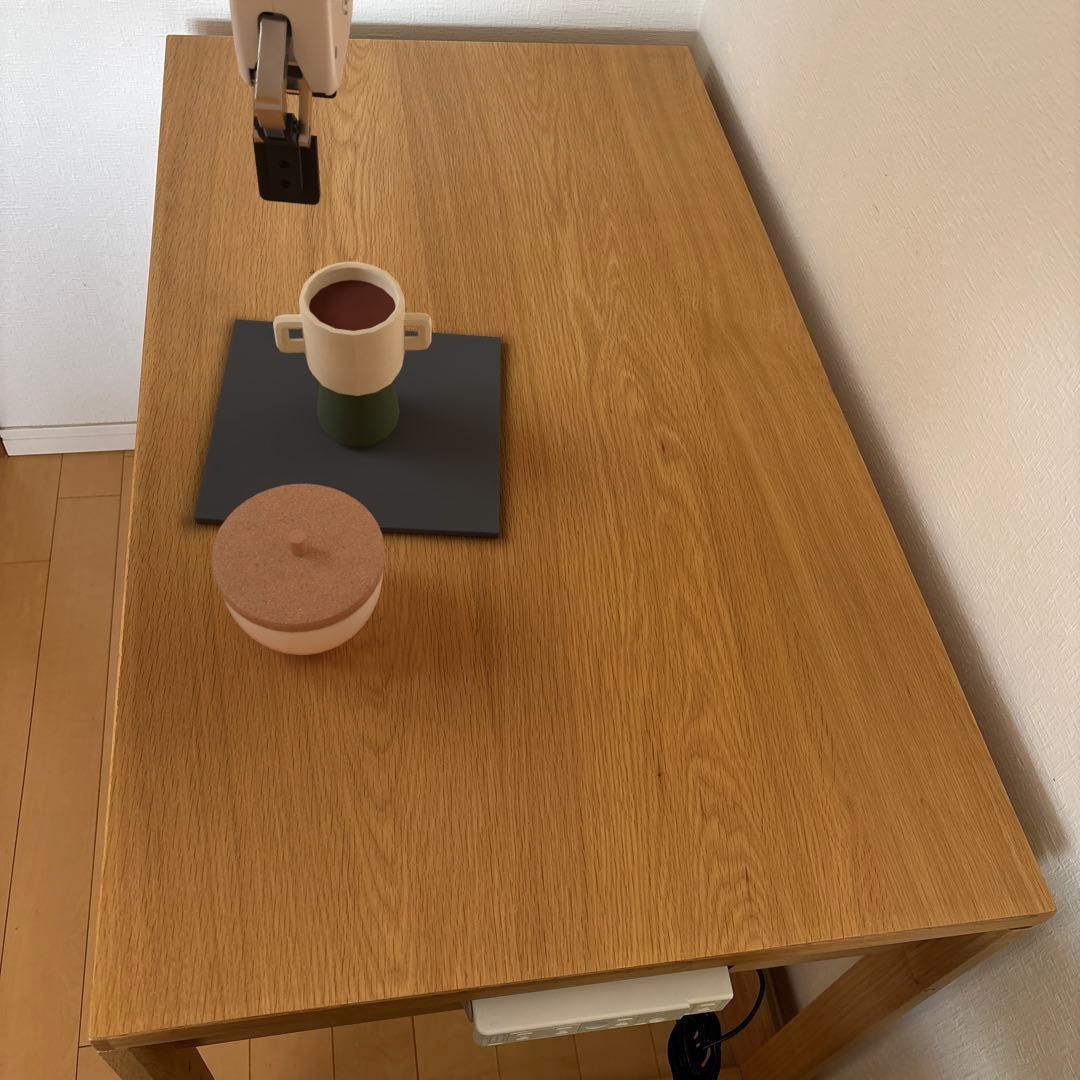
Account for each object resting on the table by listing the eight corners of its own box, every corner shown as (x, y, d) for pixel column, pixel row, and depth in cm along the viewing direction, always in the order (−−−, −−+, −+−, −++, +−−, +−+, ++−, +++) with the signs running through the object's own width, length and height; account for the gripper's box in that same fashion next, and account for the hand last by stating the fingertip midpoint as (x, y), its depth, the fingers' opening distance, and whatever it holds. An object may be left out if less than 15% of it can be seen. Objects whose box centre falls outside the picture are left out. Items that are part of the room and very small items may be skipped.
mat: (195, 522, 74) (193, 518, 74) (236, 324, 85) (235, 318, 85) (498, 537, 76) (499, 533, 76) (500, 341, 87) (500, 337, 87)
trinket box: (216, 564, 72) (193, 486, 65) (365, 531, 75) (361, 452, 67) (244, 698, 67) (223, 630, 59) (403, 657, 70) (403, 588, 62)
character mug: (425, 384, 83) (428, 259, 72) (432, 453, 79) (436, 333, 68) (287, 388, 81) (269, 261, 70) (287, 459, 77) (269, 336, 67)
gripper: (344, -90, 40) (354, 252, 54) (377, -265, 50) (378, 64, 64) (146, -115, 39) (208, 239, 53) (218, -289, 49) (254, 51, 63)
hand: (300, 144), depth 59 cm, fingers open, 9 cm apart
